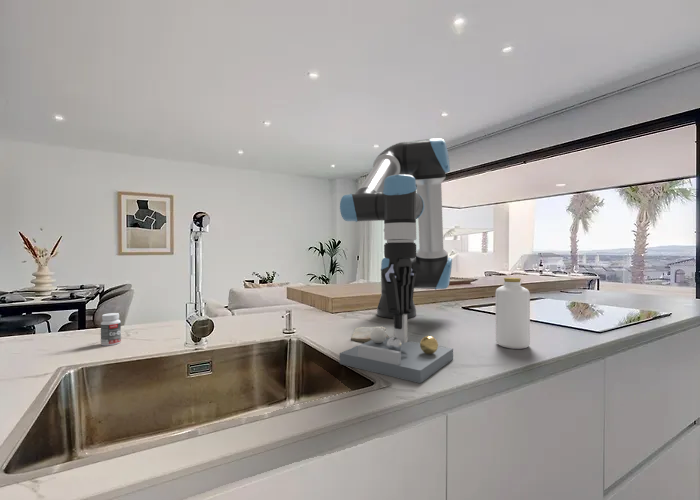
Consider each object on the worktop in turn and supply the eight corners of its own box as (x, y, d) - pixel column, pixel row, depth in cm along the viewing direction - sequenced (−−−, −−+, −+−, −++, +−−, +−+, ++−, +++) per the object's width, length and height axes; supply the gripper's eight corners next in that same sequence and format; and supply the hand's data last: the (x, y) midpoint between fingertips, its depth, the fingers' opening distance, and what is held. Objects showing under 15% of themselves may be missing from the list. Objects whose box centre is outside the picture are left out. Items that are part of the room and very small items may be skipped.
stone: (388, 347, 96) (388, 338, 96) (349, 347, 97) (349, 337, 97) (387, 333, 111) (387, 325, 111) (353, 333, 112) (353, 324, 112)
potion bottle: (522, 341, 99) (522, 276, 98) (535, 350, 90) (535, 279, 90) (491, 341, 99) (491, 276, 99) (501, 349, 91) (501, 279, 91)
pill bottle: (111, 346, 98) (110, 316, 98) (96, 345, 99) (96, 315, 99) (125, 341, 102) (124, 312, 102) (111, 341, 103) (110, 312, 103)
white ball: (375, 340, 92) (375, 324, 92) (389, 342, 90) (389, 326, 90) (367, 343, 89) (367, 327, 89) (381, 346, 86) (380, 329, 86)
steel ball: (382, 344, 80) (386, 354, 82) (395, 346, 78) (400, 357, 80) (388, 332, 83) (392, 343, 84) (401, 334, 81) (406, 345, 82)
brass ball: (424, 350, 83) (424, 333, 83) (440, 353, 81) (440, 335, 81) (417, 354, 80) (416, 336, 80) (433, 357, 77) (433, 339, 77)
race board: (380, 345, 96) (380, 327, 96) (453, 359, 84) (452, 338, 84) (339, 363, 81) (339, 342, 81) (420, 383, 70) (420, 357, 69)
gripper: (399, 242, 91) (399, 333, 91) (371, 241, 81) (372, 345, 81) (426, 241, 87) (427, 338, 87) (401, 241, 76) (402, 350, 76)
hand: (400, 341), depth 84 cm, fingers closed
